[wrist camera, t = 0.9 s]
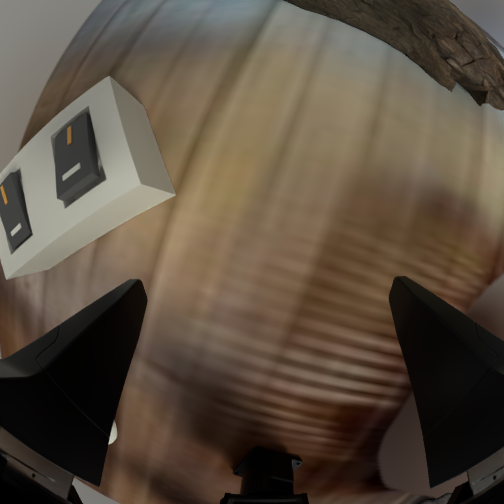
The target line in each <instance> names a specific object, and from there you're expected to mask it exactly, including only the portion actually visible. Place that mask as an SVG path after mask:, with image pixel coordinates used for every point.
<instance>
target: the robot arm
mask: <svg viewBox="0 0 504 504" xmlns="http://www.w3.org/2000/svg"><path fill="white" fill-rule="evenodd" d="M389 303H390V307H391V311H392V316H393V320H394V325H395V329H396V333H397V337H398V341H399V344H400V347H401V350H402V354H403V357H404V360H405V364H406V367H407V371H408V374H409V378H410V382H411V385H412V389H413V393H414V397H415V401H416V406H417V410H418V415H419V419H420V424H421V429H422V434H423V437H424V438H423V441H424V446H425V452H426V460H427V467H428V475H429V484H430V488H433V487H436V486H438V485H441V484H443V483H445V482H447V481H449V480H451V479H454V478H455V477H457V476H460V475H462V474H463V473H465V472H467V476H468V481H467V482H465V483H463V484H461V485H459V486H457V487H455V489H454V491H453V493H452V495H451V496H450V498H449V500H448V502H447V503H446V504H504V341H503V340H501V339H500V338H498V337H497V336H495V335H494V334H492V333H491V332H489V331H488V330H486V329H485V328H483V327H482V326H480V325H479V324H478V323H476V322H474V321H473V320H472V319H471V318H469V317H468V316H466V315H465V314H463V313H462V312H460V311H459V310H457V309H456V308H454V307H453V306H451V305H450V304H448V303H447V302H445V301H444V300H442V299H441V298H439V297H438V296H436V295H435V294H433V293H432V292H430V291H428V290H427V289H425V288H424V287H422V286H421V285H419V284H417V283H416V282H414V281H413V280H411V279H409V278H408V277H406V276H397V277H395V278H394V280H393V284H392V287H391V290H390V294H389ZM146 306H147V296H146V293H145V289H144V286H143V283H142V281H141V280H140V279H129V280H128V281H126V282H125V283H123V284H121V285H120V286H118V287H117V288H115V289H113V290H112V291H110V292H109V293H107V294H106V295H104V296H102V297H101V298H99V299H98V300H96V301H95V302H93V303H92V304H90V305H88V306H87V307H85V308H84V309H82V310H81V311H79V312H78V313H76V314H75V315H73V316H72V317H70V318H69V319H67V320H66V321H64V322H63V323H61V324H60V325H58V326H57V327H55V328H54V329H52V330H51V331H49V332H48V333H46V334H45V335H43V336H42V337H40V338H39V339H37V340H35V341H34V342H32V343H30V344H29V345H27V346H25V347H24V348H22V349H20V350H19V351H17V352H15V353H14V354H12V355H11V356H9V357H7V358H4V359H0V504H83V503H82V501H81V499H80V497H79V495H78V493H77V492H76V489H75V487H74V486H73V485H72V482H73V479H74V476H75V477H77V478H79V479H82V480H84V481H86V482H88V483H90V484H93V485H95V486H97V487H99V486H100V483H101V477H102V472H103V467H104V462H105V457H106V453H107V448H108V444H109V440H110V438H109V437H110V435H111V431H112V427H113V423H114V419H115V415H116V411H117V408H118V404H119V400H120V397H121V393H122V390H123V386H124V383H125V380H126V377H127V373H128V370H129V367H130V364H131V361H132V358H133V354H134V351H135V348H136V345H137V342H138V339H139V336H140V332H141V327H142V323H143V319H144V314H145V310H146ZM301 465H302V460H301V459H298V458H294V457H290V456H286V455H283V454H279V453H276V452H273V451H269V450H266V449H263V448H260V447H255V448H253V449H252V451H251V452H250V453H249V454H248V455H247V456H246V457H245V458H244V459H243V460H242V461H241V462H240V463H239V465H238V466H237V467H236V468H235V469H234V470H233V474H234V475H237V476H240V477H242V482H241V490H240V494H231V493H225V496H224V498H222V499H221V500H220V504H309V502H308V497H307V493H302V494H295V495H294V490H293V482H294V477H293V472H294V471H295V470H296V469H297V468H298V467H299V466H301Z"/></svg>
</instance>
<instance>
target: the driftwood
mask: <svg viewBox="0 0 504 504" xmlns="http://www.w3.org/2000/svg"><path fill="white" fill-rule="evenodd" d="M285 1H287V2H289V3H292V4H294V5H296V6H298V7H300V8H302V9H305V10H308V11H312V12H316V13H319V14H322V15H325V16H328V17H330V18H332V19H336V20H340V21H342V22H344V23H346V24H348V25H350V26H353V27H356V28H358V29H361V30H363V31H365V32H367V33H369V34H371V35H373V36H375V37H377V38H379V39H381V40H383V41H385V42H386V43H388V44H390V45H391V46H393V47H394V48H396V49H397V50H399V51H401V52H403V53H405V54H407V55H408V56H409V57H410V58H411V59H412V60H413V61H414V62H415V63H417V64H418V65H420V66H421V67H422V68H423V70H424V71H425V72H426V73H427V74H428V75H430V76H431V77H432V78H433V79H434V80H435V81H437V82H438V83H439V84H440V85H442V86H444V87H446V88H447V89H448V90H450V91H451V92H452V90H453V88H454V87H455V85H456V82H455V81H457V82H458V83H459V84H461V85H462V86H463V87H464V88H465V89H466V90H467V91H468V92H469V93H470V94H471V95H472V97H473V98H474V99H475V100H476V102H477V103H478V105H479V106H481V105H482V104H483V103H489V104H490V105H492V106H493V107H494V108H496V109H498V110H504V59H503V57H502V56H501V54H500V53H499V51H498V50H497V48H496V47H495V46H494V45H493V44H492V43H491V42H490V41H489V40H488V39H487V38H486V36H485V35H484V34H483V33H482V32H481V30H480V29H479V28H478V27H477V26H476V25H475V24H473V23H472V22H471V21H470V20H469V19H468V18H467V17H466V16H465V15H464V14H463V13H462V12H461V11H460V10H459V9H458V8H457V7H456V6H455V5H454V4H452V3H451V2H450V1H449V0H285Z"/></svg>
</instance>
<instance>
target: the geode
mask: <svg viewBox="0 0 504 504" xmlns="http://www.w3.org/2000/svg"><path fill="white" fill-rule="evenodd" d="M451 495H452V493H446V494H444V495H442V496H441V497H439V498H437V499H435V500H424V501H422V502H421V503H419V504H446V503H447V502H448V500H449V498H450V496H451Z"/></svg>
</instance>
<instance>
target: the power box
mask: <svg viewBox="0 0 504 504" xmlns="http://www.w3.org/2000/svg"><path fill="white" fill-rule="evenodd" d="M86 112H87V113H88V114H89V115H90V116H91V120H92V124H93V129H94V133H95V143H96V152H97V160H98V167H99V174H100V178H98V179H97V180H96V181H94V182H93V183H91V184H90V185H88V186H87V187H86V188H84V189H83V190H81V191H80V192H79V193H77V194H76V195H75V196H73V197H72V198H71V199H69V200H68V201H67V202H64V201H62V200H59V199H57V193H56V177H55V137H56V136H57V135H58V134H60V133H61V132H62V131H63V130H64V129H66V128H67V127H68V126H69V125H70V124H72V123H73V122H74V121H75V120H77V119H78V118H79V117H81V116H82V115H83V114H85V113H86ZM11 172H18V175H19V179H20V182H21V186H22V189H23V192H24V196H25V201H26V207H27V212H28V216H29V221H30V225H31V229H32V233H33V235H32V236H30V237H29V238H28V239H27V240H26V241H25V242H24V243H23V244H22V245H21V246H19V247H18V248H15V249H12V247H11V244H10V242H9V239H8V237H7V234H6V232H5V229H4V226H3V223H2V220H1V217H0V259H1V263H2V267H3V270H4V274H5V277H6V280H8V279H12V278H16V277H20V276H24V275H28V274H32V273H36V272H41V271H45V270H49V269H51V268H52V267H54V266H55V265H57V264H58V263H60V262H61V261H63V260H64V259H66V258H67V257H69V256H70V255H72V254H73V253H75V252H76V251H78V250H80V249H81V248H83V247H84V246H86V245H88V244H89V243H91V242H92V241H94V240H96V239H97V238H99V237H101V236H102V235H104V234H106V233H107V232H109V231H111V230H112V229H114V228H116V227H118V226H119V225H121V224H123V223H125V222H126V221H128V220H130V219H132V218H134V217H135V216H137V215H139V214H141V213H143V212H145V211H146V210H148V209H150V208H152V207H154V206H156V205H158V204H160V203H162V202H164V201H165V200H167V199H169V198H171V197H173V196H175V195H176V193H175V190H174V188H173V185H172V182H171V180H170V177H169V175H168V172H167V169H166V167H165V164H164V161H163V159H162V156H161V153H160V150H159V148H158V145H157V142H156V139H155V136H154V134H153V131H152V128H151V125H150V122H149V119H148V116H147V113H146V110H145V107H144V106H143V105H142V104H141V103H140V102H139V101H138V100H136V99H135V98H134V97H133V96H132V95H131V94H130V93H129V92H127V91H126V90H125V89H124V88H123V87H122V86H121V85H120V84H118V83H117V82H116V81H115V80H114V79H113V78H112V77H110V76H108V77H106V78H105V79H103V80H102V81H100V82H99V83H97V84H96V85H95V86H93V87H92V88H90V89H89V90H88V91H86V92H85V93H84V94H82V95H81V96H80V97H78V98H77V99H76V100H75V101H73V102H72V103H71V104H70V105H68V106H67V107H66V108H65V109H64V110H62V111H61V112H60V113H59V114H58V115H57V116H55V117H54V118H53V119H52V120H51V121H50V122H49V123H48V124H47V125H45V126H44V127H43V128H42V129H41V130H40V131H39V132H38V133H37V134H36V135H35V136H34V137H33V138H32V139H31V140H30V141H29V142H28V143H27V144H26V145H25V146H24V147H23V148H22V149H21V151H20V152H19V153H18V154H17V155H16V156H15V157H14V158H13V159H12V161H11V162H10V163H9V164H8V165H7V166H6V168H5V169H4V170H3V171H2V173H1V174H0V184H1V183H2V182H3V181H4V179H5V178H6V177H7V176H8V175H9V174H10V173H11Z"/></svg>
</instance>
